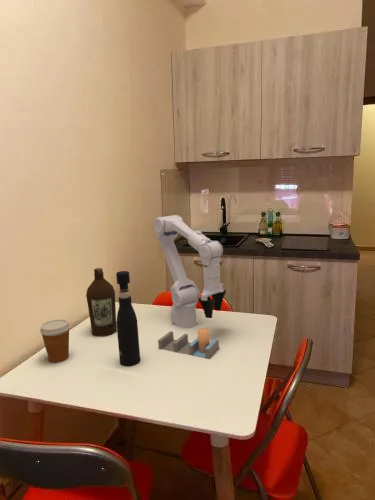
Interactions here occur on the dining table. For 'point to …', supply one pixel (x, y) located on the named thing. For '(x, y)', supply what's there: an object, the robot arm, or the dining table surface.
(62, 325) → the disposable coffee cup
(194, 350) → the grey slotted rack
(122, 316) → the wine bottle
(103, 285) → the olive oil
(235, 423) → the dining table surface
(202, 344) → the tan rounded cylinder
